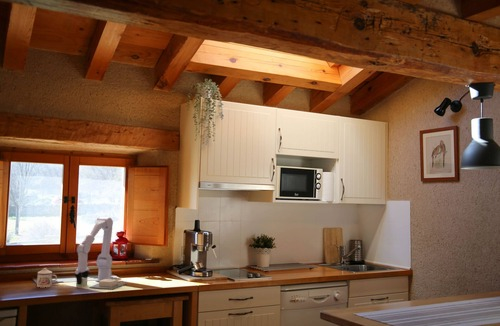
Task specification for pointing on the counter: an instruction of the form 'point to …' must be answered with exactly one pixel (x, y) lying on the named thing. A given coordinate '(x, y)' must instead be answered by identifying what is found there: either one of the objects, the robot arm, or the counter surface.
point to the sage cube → (83, 283)
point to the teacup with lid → (45, 278)
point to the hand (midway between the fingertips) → (81, 283)
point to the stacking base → (108, 284)
